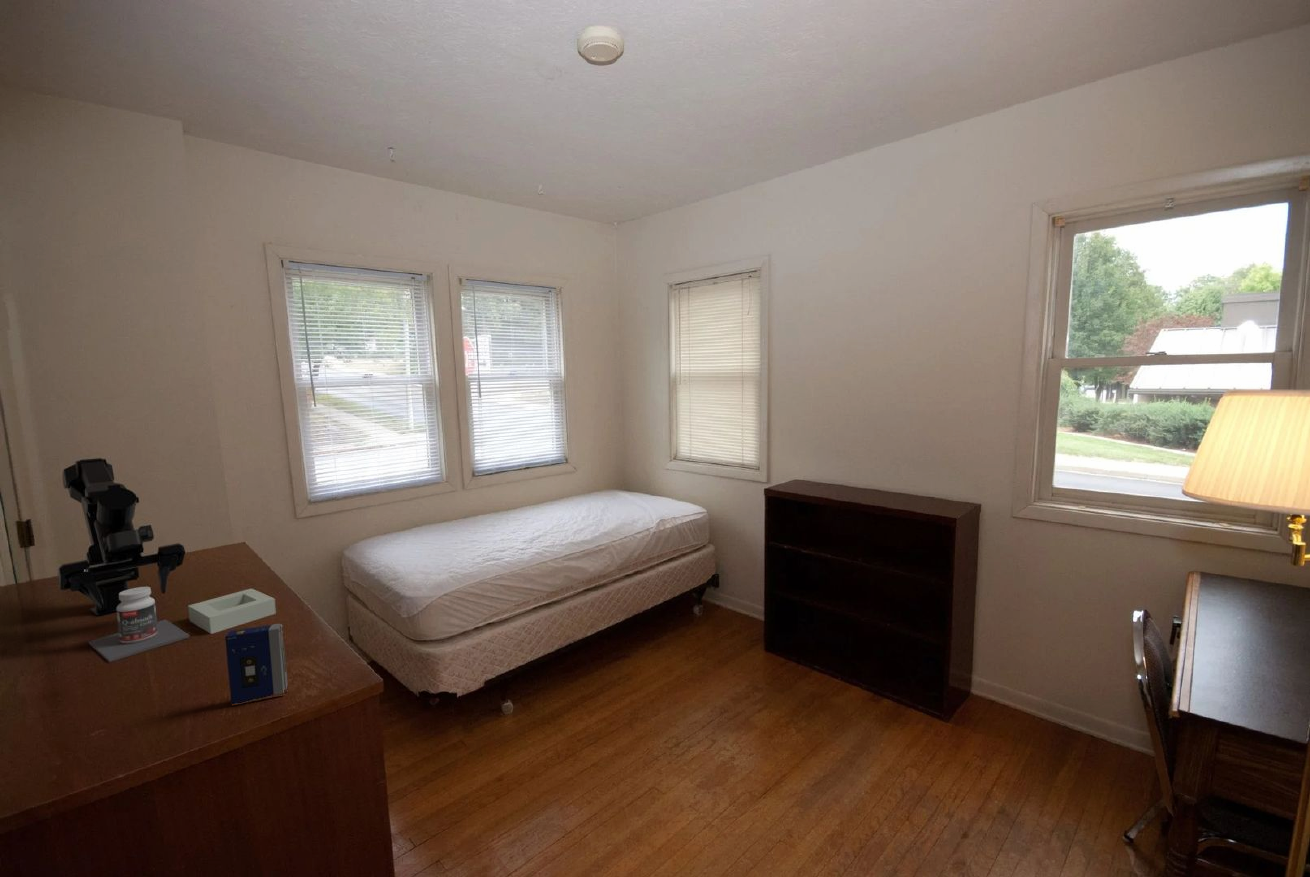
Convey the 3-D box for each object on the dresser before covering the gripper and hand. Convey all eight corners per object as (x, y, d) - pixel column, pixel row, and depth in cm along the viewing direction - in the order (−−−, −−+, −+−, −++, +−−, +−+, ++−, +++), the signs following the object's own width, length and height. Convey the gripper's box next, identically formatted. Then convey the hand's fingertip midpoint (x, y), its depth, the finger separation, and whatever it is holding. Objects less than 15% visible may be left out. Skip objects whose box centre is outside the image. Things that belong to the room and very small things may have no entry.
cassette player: (230, 707, 88) (224, 635, 86) (235, 699, 90) (228, 629, 89) (285, 696, 91) (279, 626, 89) (288, 689, 93) (282, 621, 92)
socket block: (189, 621, 120) (188, 605, 120) (252, 602, 130) (251, 588, 130) (211, 634, 114) (209, 617, 114) (275, 613, 124) (274, 598, 124)
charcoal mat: (88, 643, 110) (88, 641, 110) (165, 621, 120) (165, 619, 120) (109, 662, 103) (108, 659, 102) (189, 637, 113) (189, 634, 112)
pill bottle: (122, 647, 107) (117, 598, 106) (117, 639, 111) (111, 591, 110) (161, 636, 112) (156, 589, 111) (154, 629, 115) (150, 583, 114)
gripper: (53, 524, 105) (68, 593, 100) (178, 507, 120) (198, 565, 115) (52, 556, 111) (67, 623, 105) (172, 536, 126) (190, 593, 120)
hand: (134, 599), depth 111 cm, fingers open, 9 cm apart
